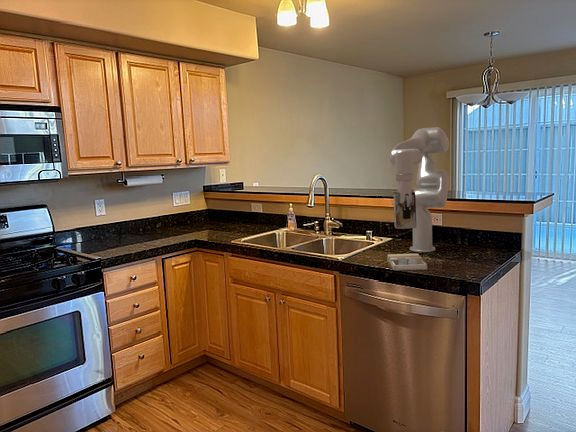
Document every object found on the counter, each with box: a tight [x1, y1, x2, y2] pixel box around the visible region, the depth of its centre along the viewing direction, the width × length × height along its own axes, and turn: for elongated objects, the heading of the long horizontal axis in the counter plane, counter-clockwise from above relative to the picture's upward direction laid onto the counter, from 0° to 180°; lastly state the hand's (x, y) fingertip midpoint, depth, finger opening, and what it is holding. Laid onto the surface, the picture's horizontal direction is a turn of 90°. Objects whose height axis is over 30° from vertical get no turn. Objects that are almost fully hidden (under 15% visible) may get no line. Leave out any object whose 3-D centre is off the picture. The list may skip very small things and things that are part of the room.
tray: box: [390, 260, 428, 272], centre depth 195 cm, size 8×14×2 cm, turn 87°
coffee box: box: [393, 190, 417, 230], centre depth 199 cm, size 9×6×16 cm
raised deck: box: [387, 252, 424, 266], centre depth 204 cm, size 10×14×3 cm
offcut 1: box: [397, 258, 407, 265], centre depth 197 cm, size 4×4×4 cm
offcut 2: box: [407, 258, 417, 265], centre depth 196 cm, size 4×4×4 cm
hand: (405, 217), depth 200 cm, fingers closed on coffee box, 6 cm apart
